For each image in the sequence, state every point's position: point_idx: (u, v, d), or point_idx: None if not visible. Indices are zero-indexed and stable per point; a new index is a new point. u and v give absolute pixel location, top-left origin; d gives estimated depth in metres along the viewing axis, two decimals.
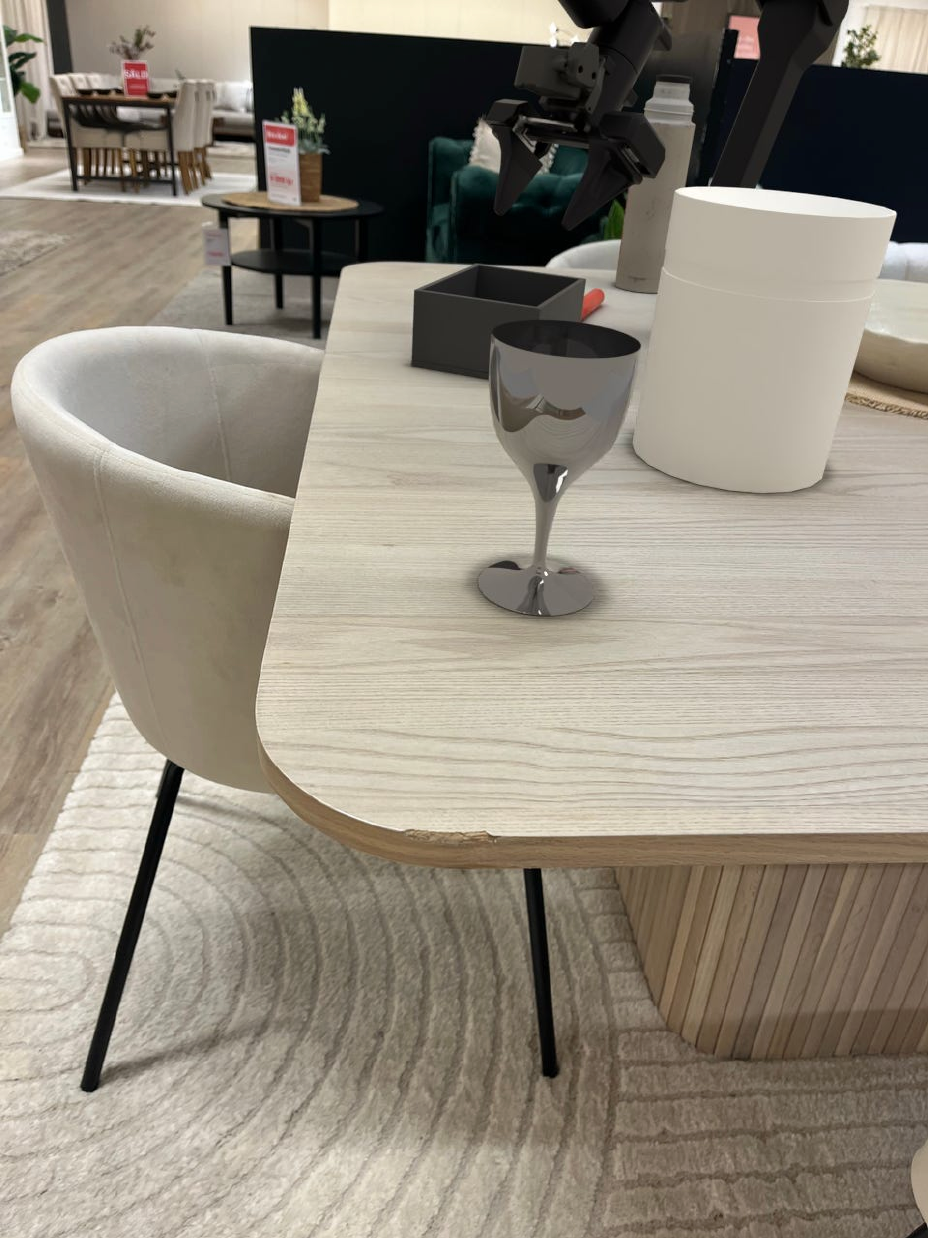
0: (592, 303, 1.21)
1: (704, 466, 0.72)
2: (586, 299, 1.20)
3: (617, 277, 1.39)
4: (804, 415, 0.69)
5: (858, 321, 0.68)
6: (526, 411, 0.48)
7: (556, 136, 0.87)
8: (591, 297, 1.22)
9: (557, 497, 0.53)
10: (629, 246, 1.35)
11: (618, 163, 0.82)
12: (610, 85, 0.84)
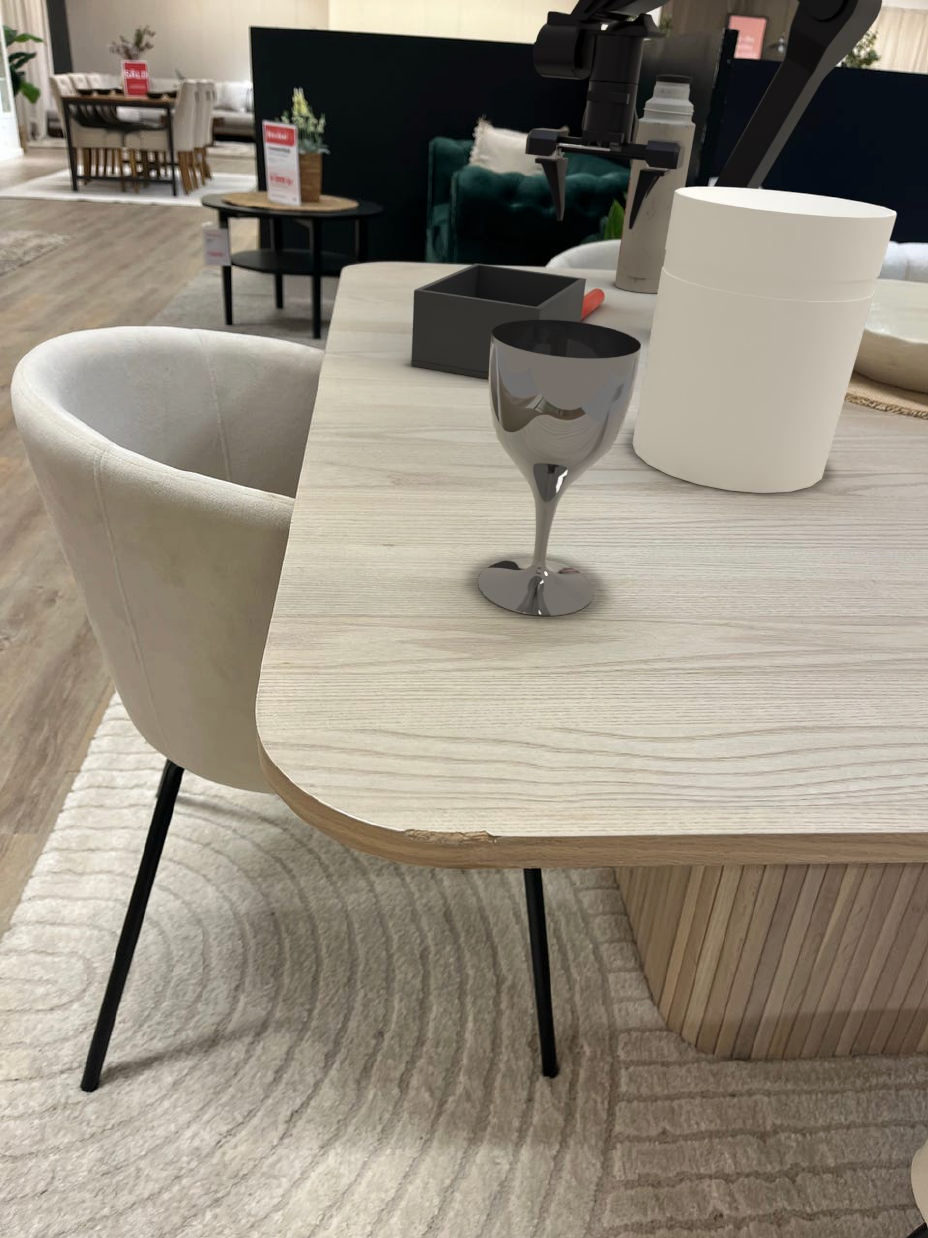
0: (592, 303, 1.21)
1: (704, 466, 0.72)
2: (586, 299, 1.20)
3: (617, 277, 1.39)
4: (804, 415, 0.69)
5: (858, 321, 0.68)
6: (525, 411, 0.48)
7: None
8: (591, 297, 1.22)
9: (556, 497, 0.53)
10: (629, 246, 1.35)
11: None
12: None
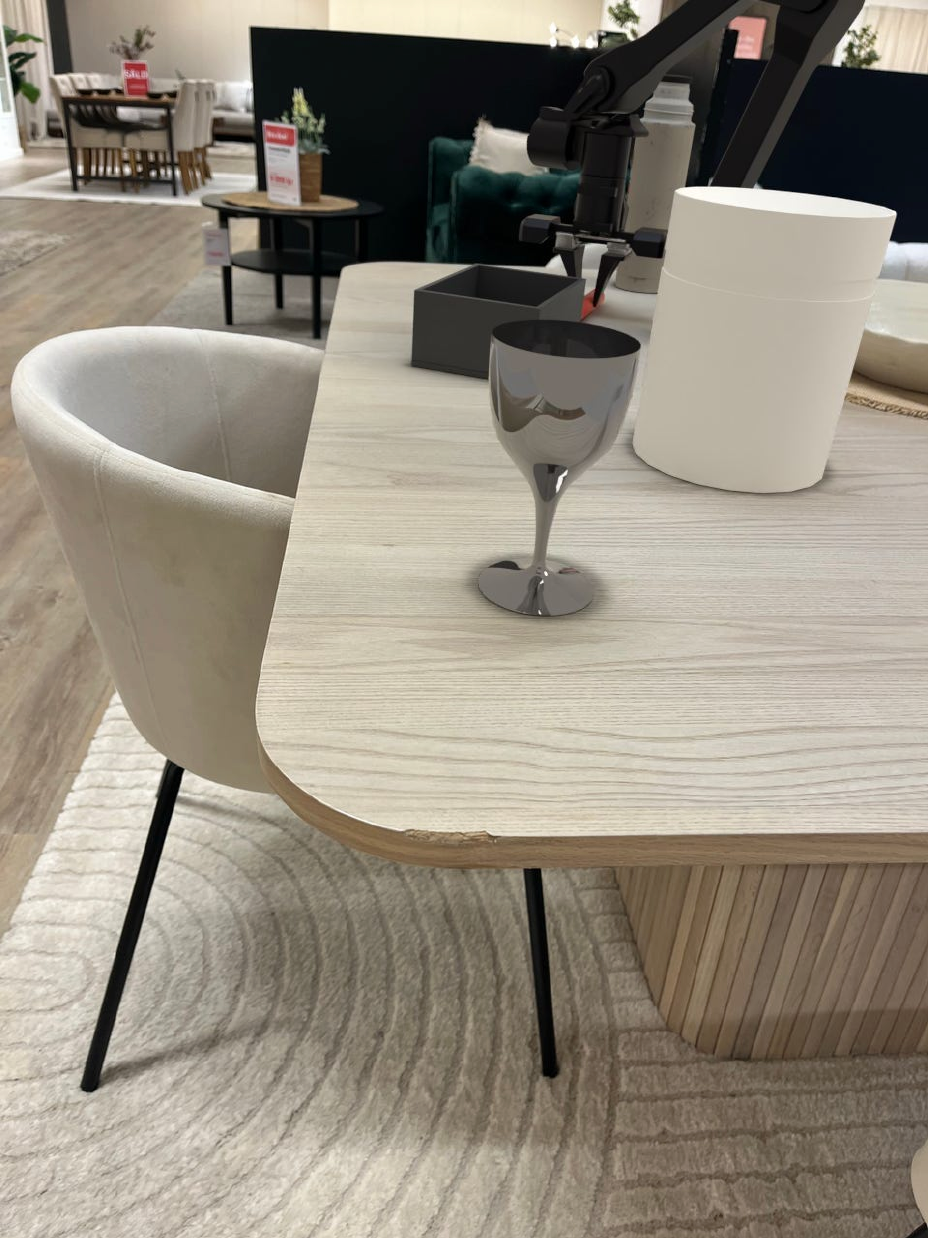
0: (592, 303, 1.21)
1: (704, 466, 0.72)
2: (586, 299, 1.20)
3: (617, 277, 1.39)
4: (804, 415, 0.69)
5: (858, 321, 0.68)
6: (525, 411, 0.48)
7: None
8: (591, 297, 1.22)
9: (556, 497, 0.53)
10: None
11: None
12: None
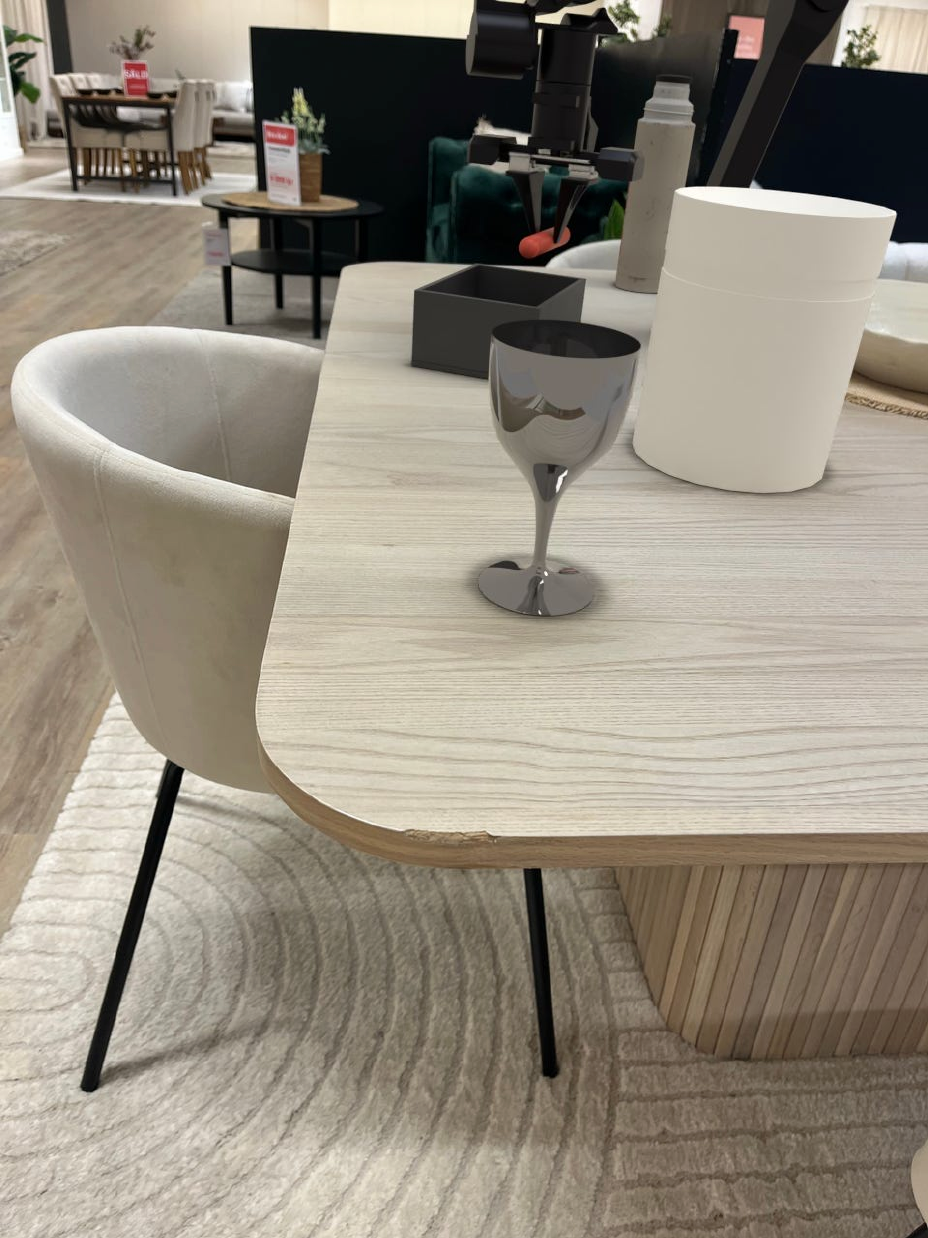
0: (552, 238, 1.04)
1: (704, 466, 0.72)
2: (545, 233, 1.03)
3: (617, 277, 1.39)
4: (804, 415, 0.69)
5: (858, 321, 0.68)
6: (525, 411, 0.48)
7: None
8: (552, 232, 1.04)
9: (556, 497, 0.53)
10: (629, 246, 1.35)
11: None
12: None
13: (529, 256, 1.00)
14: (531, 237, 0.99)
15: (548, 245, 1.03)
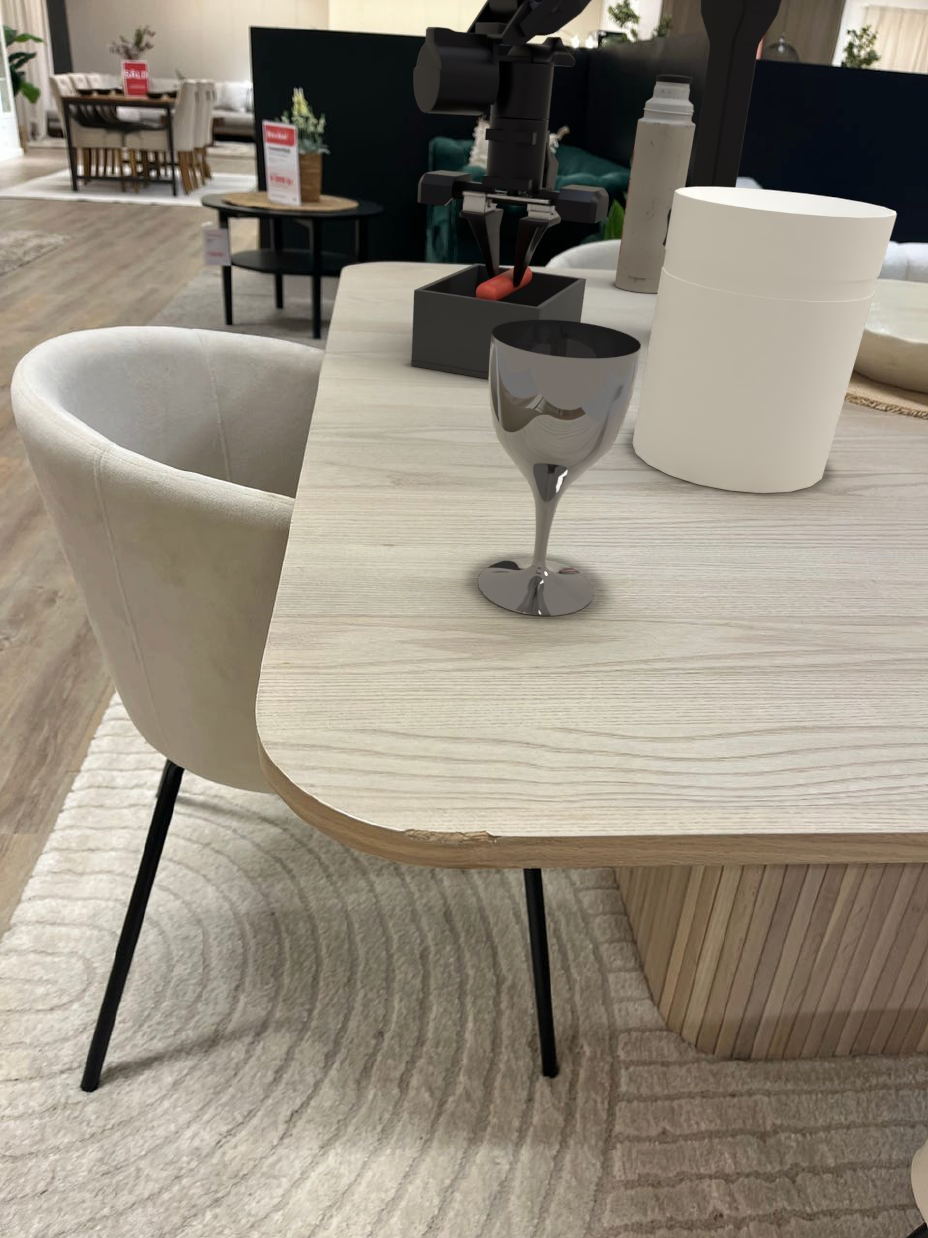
0: (512, 282, 0.97)
1: (704, 466, 0.72)
2: (504, 276, 0.96)
3: (617, 277, 1.39)
4: (804, 415, 0.69)
5: (858, 321, 0.68)
6: (525, 411, 0.48)
7: None
8: (511, 274, 0.97)
9: (556, 497, 0.53)
10: (629, 246, 1.35)
11: None
12: None
13: None
14: (488, 283, 0.92)
15: (507, 289, 0.96)
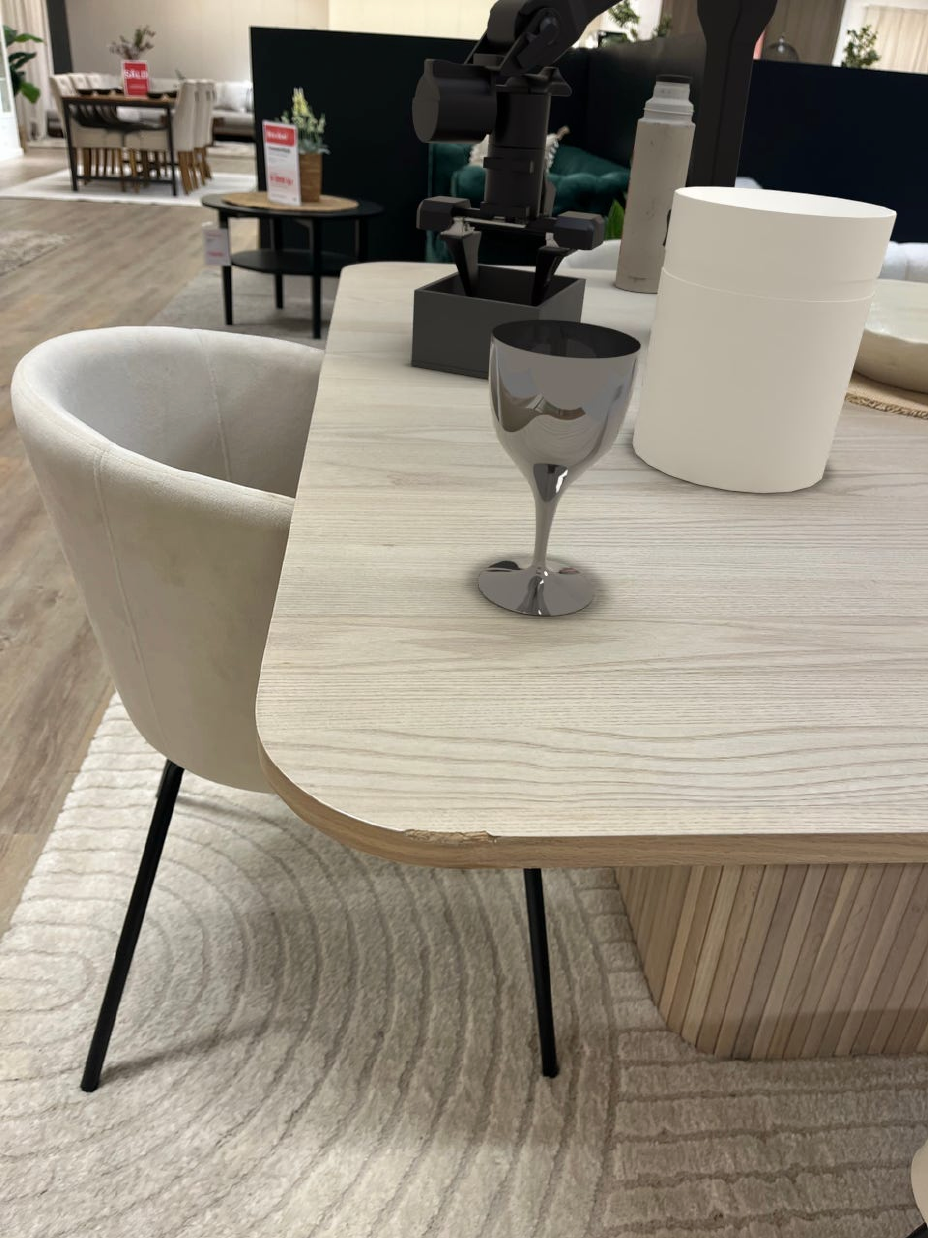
0: None
1: (704, 466, 0.72)
2: None
3: (617, 277, 1.39)
4: (804, 415, 0.69)
5: (858, 321, 0.68)
6: (525, 411, 0.48)
7: None
8: None
9: (556, 497, 0.53)
10: (629, 246, 1.35)
11: None
12: None
13: None
14: None
15: None
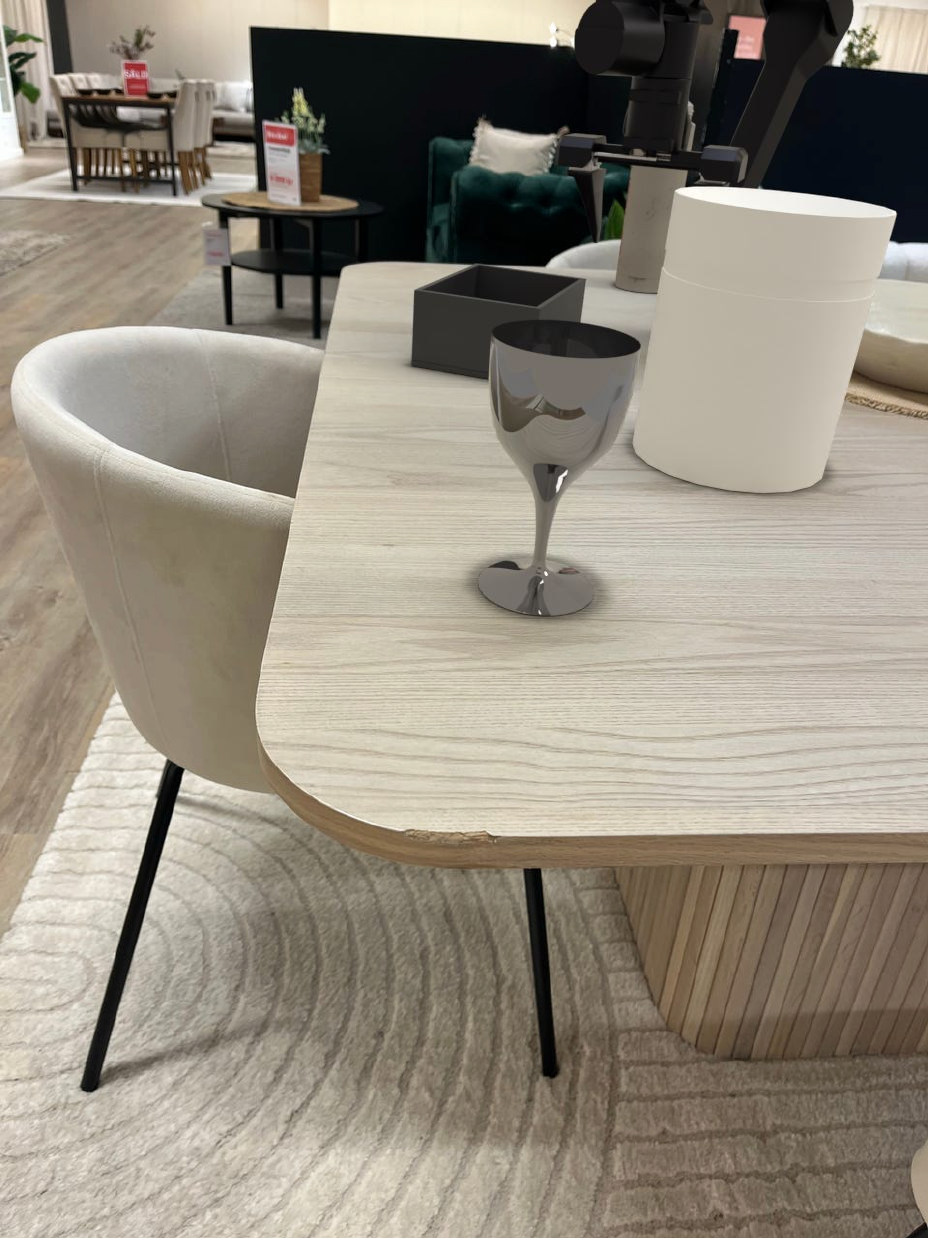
0: None
1: (704, 466, 0.72)
2: None
3: (617, 277, 1.39)
4: (804, 415, 0.69)
5: (858, 321, 0.68)
6: (525, 411, 0.48)
7: None
8: None
9: (556, 497, 0.53)
10: (629, 246, 1.35)
11: None
12: None
13: None
14: None
15: None
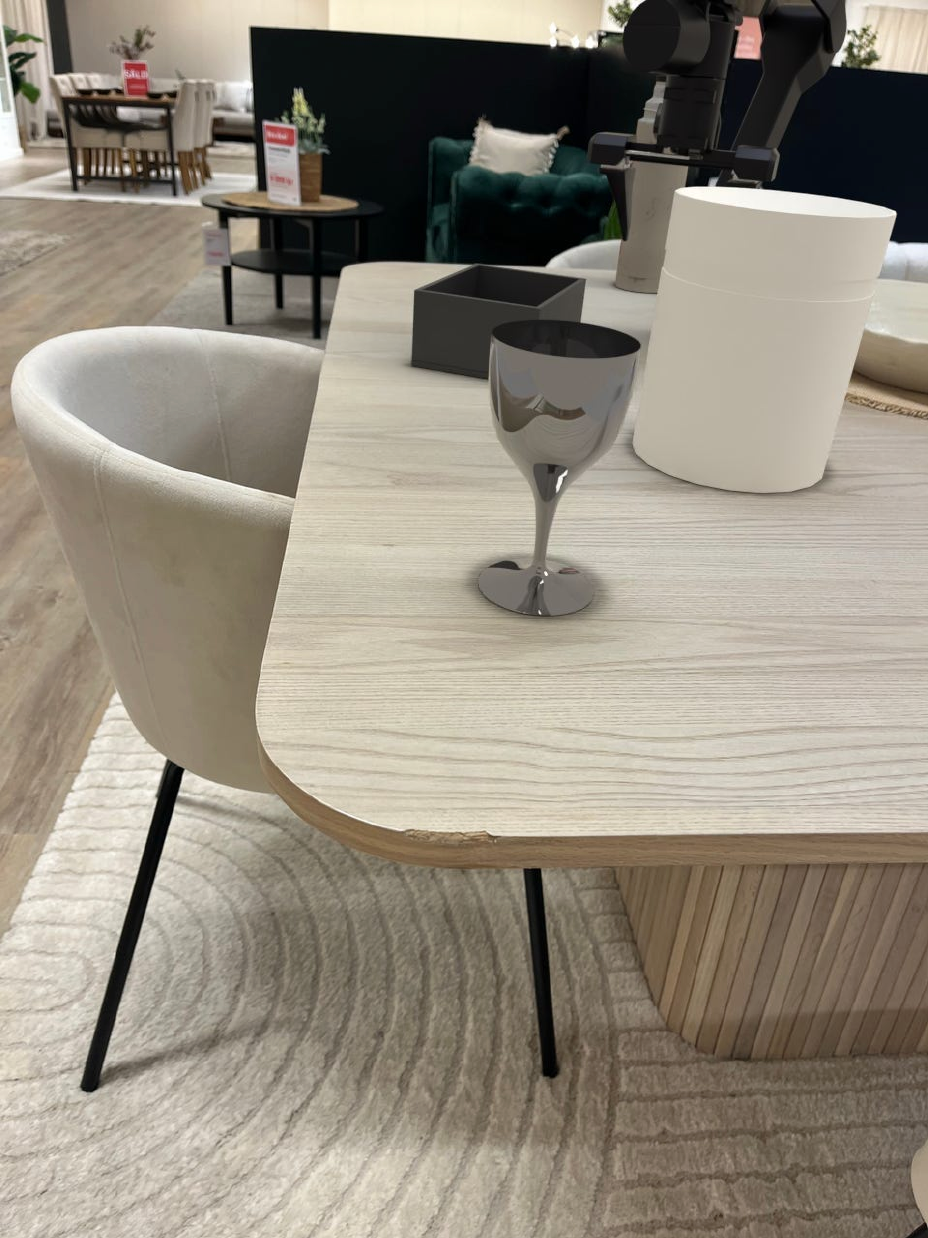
0: None
1: (704, 466, 0.72)
2: None
3: (617, 277, 1.39)
4: (804, 415, 0.69)
5: (858, 321, 0.68)
6: (525, 411, 0.48)
7: None
8: None
9: (556, 497, 0.53)
10: (629, 246, 1.35)
11: None
12: None
13: None
14: None
15: None
